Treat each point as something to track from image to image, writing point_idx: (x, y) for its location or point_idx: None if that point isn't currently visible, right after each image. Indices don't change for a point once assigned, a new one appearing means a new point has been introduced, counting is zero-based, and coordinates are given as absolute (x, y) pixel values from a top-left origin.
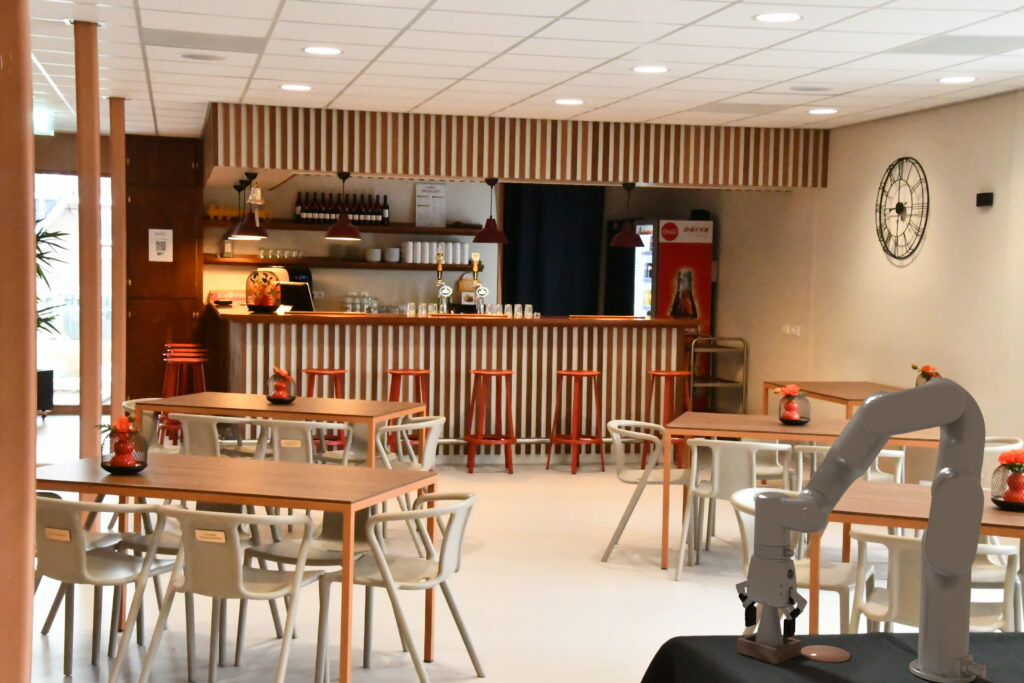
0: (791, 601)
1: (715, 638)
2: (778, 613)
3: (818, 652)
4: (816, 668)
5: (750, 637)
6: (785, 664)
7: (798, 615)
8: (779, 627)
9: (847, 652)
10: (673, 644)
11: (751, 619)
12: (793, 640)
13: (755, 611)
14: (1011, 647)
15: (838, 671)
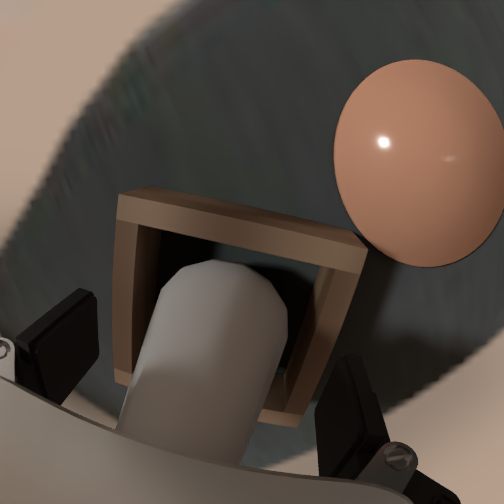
0: (358, 500)
1: (20, 247)
2: (243, 442)
3: (413, 177)
4: (432, 341)
5: (133, 333)
6: (329, 370)
7: (418, 475)
8: (267, 383)
9: (493, 113)
10: None
11: (80, 353)
12: (326, 265)
13: (52, 342)
14: None
15: (489, 320)
